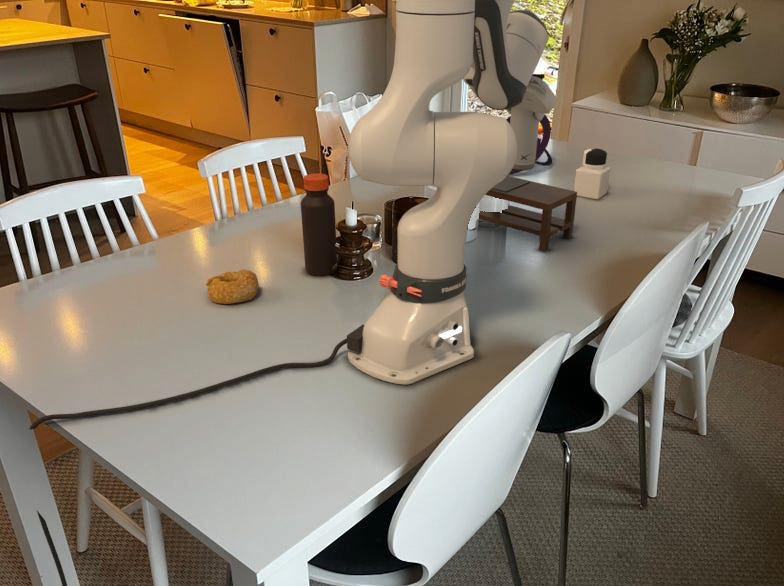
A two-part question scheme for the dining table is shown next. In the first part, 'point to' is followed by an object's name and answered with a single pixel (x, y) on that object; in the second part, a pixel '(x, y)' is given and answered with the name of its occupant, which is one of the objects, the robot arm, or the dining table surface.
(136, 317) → the dining table surface
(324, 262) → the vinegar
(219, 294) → the bagel
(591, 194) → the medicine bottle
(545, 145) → the decorative bottle
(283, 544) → the dining table surface
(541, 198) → the coffee table
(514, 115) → the travel mug
